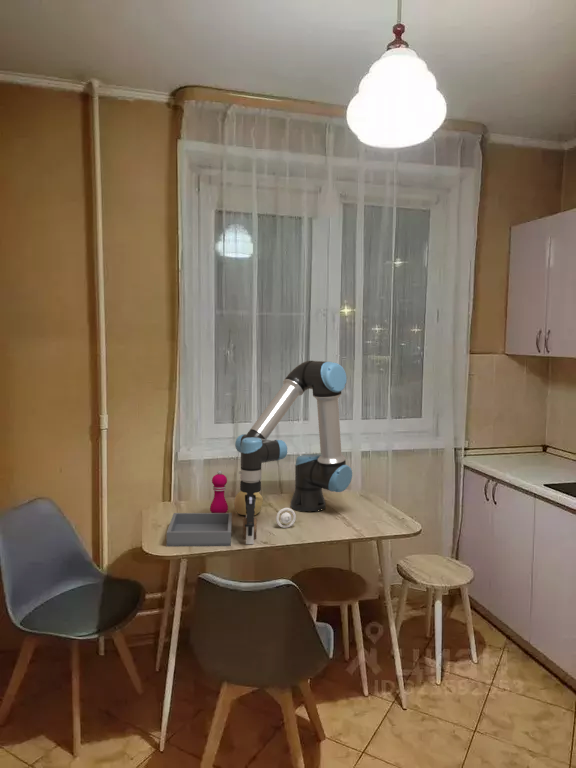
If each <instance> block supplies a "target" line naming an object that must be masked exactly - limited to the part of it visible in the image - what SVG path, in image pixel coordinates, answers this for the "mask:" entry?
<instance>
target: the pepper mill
mask: <svg viewBox="0 0 576 768" xmlns="http://www.w3.org/2000/svg"><path fill="white" fill-rule="evenodd" d="M222 473H223V472H222V470H217V472H216V474H215V475H213V477H212V478H211V479H212V480H211V483H212V485H213V487H212V489H213V492H214V494H213V495H214V496H213V499H212V502H211V504H210V508H209V510H210V513H228V511H229V505H228V502H227V500H226V497H225V491H226V490H227V489H226V485H227V483H228V479H227V476H226V475H225V474H222Z"/></svg>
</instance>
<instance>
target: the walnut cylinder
mask: <svg viewBox="0 0 576 768" xmlns="http://www.w3.org/2000/svg"><path fill="white" fill-rule="evenodd" d="M257 521H258V520H257V518H256V517H254V541H255V540H256V539H257V527H258V524H257V523H258V522H257ZM245 524H247V518H246V517H244V518H243V519H242V539H243V540H245V541H246V527H245Z"/></svg>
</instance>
